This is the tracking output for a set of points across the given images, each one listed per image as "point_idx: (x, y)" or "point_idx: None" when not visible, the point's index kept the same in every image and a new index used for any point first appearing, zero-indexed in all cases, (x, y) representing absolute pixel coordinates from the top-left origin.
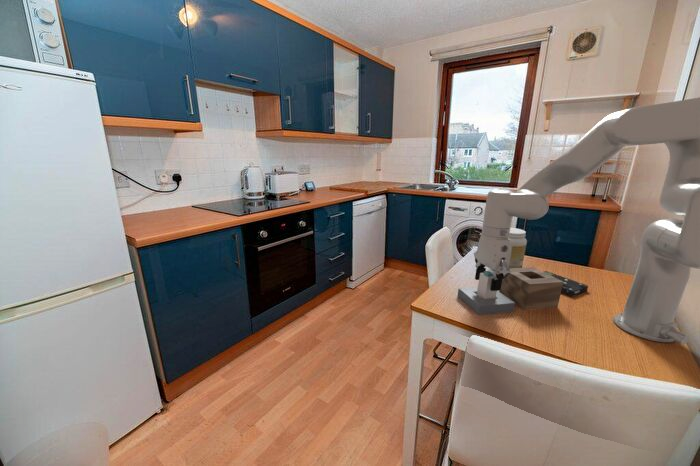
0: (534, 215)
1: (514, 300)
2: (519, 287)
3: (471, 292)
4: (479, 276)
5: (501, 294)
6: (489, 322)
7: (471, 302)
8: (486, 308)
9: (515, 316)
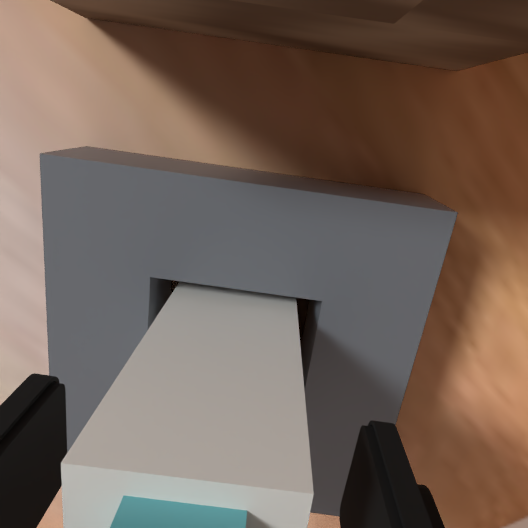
0: None
1: (314, 45)
2: (389, 10)
3: None
4: (41, 486)
5: (264, 204)
6: (451, 459)
7: None
8: None
9: (482, 241)
